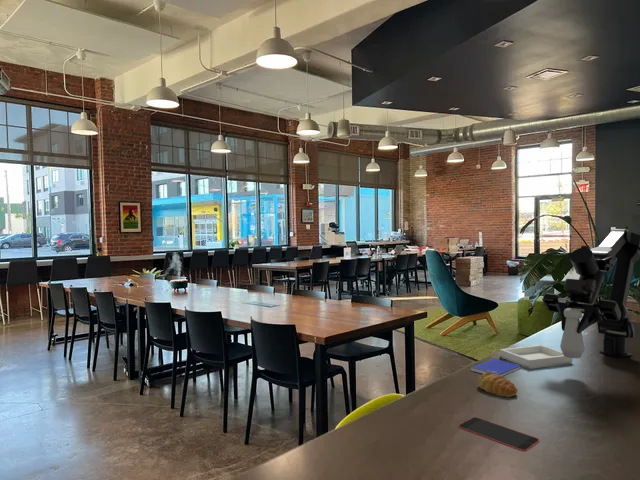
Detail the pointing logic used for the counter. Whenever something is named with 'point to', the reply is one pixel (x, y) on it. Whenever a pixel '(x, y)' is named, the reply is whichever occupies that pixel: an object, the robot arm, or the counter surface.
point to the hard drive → (496, 367)
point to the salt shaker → (572, 335)
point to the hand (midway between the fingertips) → (570, 331)
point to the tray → (535, 356)
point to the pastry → (496, 385)
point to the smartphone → (499, 434)
